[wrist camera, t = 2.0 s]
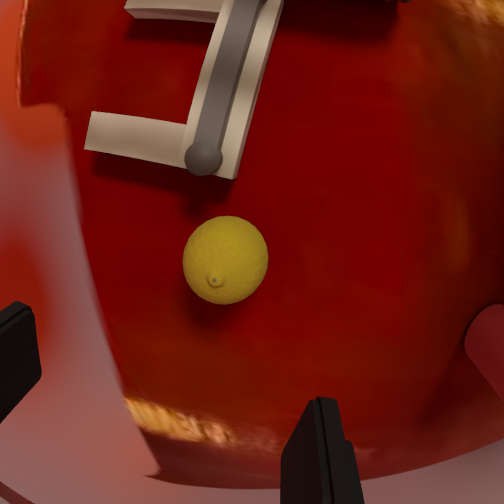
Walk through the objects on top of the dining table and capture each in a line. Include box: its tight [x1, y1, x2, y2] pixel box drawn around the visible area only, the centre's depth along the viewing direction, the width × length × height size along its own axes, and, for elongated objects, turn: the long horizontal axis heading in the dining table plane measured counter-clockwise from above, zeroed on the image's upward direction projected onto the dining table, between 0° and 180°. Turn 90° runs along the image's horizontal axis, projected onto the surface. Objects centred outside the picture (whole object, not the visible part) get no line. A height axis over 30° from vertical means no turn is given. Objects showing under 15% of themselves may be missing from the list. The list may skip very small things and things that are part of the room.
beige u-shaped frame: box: [84, 0, 284, 179], centre depth 20 cm, size 15×12×4 cm
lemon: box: [183, 216, 268, 304], centre depth 21 cm, size 6×6×8 cm
